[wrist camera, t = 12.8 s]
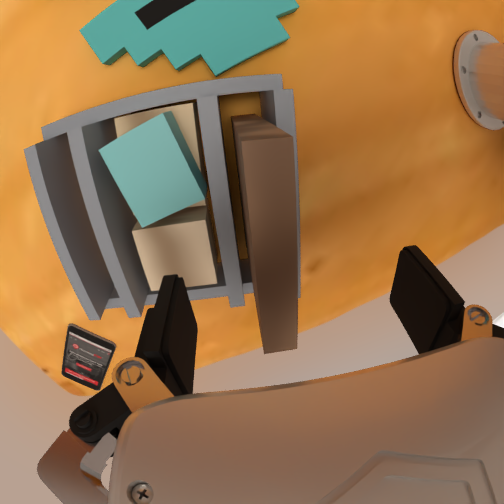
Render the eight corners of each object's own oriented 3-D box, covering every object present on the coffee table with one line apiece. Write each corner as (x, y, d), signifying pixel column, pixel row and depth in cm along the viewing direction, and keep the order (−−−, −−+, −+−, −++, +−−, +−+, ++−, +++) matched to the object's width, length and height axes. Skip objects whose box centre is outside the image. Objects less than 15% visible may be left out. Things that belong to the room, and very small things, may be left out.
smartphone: (61, 374, 38) (68, 323, 32) (62, 371, 38) (70, 320, 32) (99, 391, 40) (116, 345, 34) (100, 388, 41) (117, 341, 35)
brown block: (254, 113, 22) (293, 136, 11) (265, 238, 29) (297, 348, 17) (230, 116, 22) (241, 141, 10) (245, 241, 29) (264, 353, 17)
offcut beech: (207, 197, 26) (205, 219, 22) (217, 253, 29) (217, 283, 25) (145, 207, 26) (131, 231, 22) (160, 260, 29) (151, 291, 25)
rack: (272, 77, 21) (291, 70, 15) (285, 263, 30) (300, 308, 24) (63, 120, 20) (20, 134, 14) (113, 285, 30) (95, 329, 24)
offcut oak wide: (197, 102, 22) (192, 102, 18) (207, 189, 26) (205, 205, 22) (129, 114, 21) (114, 118, 18) (144, 198, 26) (133, 215, 22)
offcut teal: (171, 110, 18) (162, 112, 16) (207, 185, 22) (205, 199, 19) (113, 142, 19) (98, 150, 16) (151, 211, 22) (142, 228, 20)
